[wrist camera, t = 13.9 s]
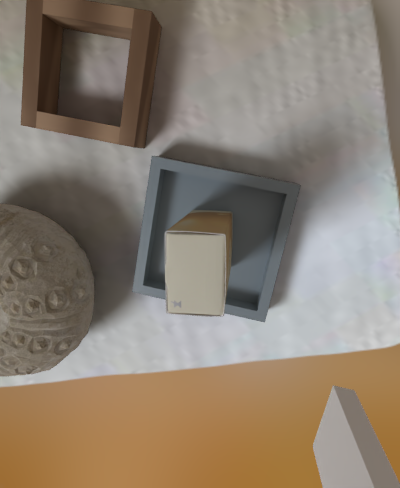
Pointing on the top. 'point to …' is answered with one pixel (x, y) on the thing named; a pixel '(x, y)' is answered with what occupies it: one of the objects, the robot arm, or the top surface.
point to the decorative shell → (40, 292)
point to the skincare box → (198, 263)
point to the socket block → (49, 61)
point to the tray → (244, 227)
